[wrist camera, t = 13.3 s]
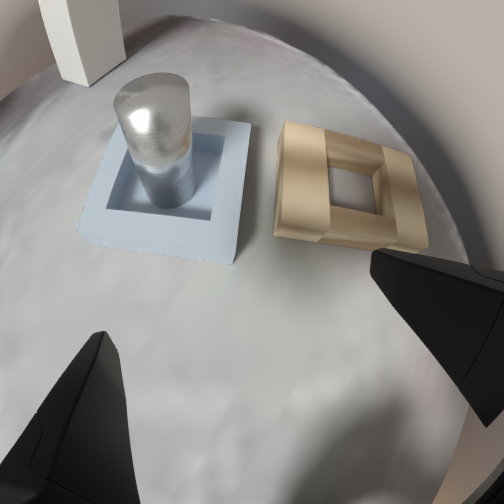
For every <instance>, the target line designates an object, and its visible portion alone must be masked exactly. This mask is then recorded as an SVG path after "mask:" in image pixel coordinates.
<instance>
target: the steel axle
mask: <svg viewBox="0 0 504 504" xmlns="http://www.w3.org/2000/svg"><path fill="white" fill-rule="evenodd" d="M114 109H115V112H116V115H117V118H118V121H119V124H120V127H121V129H122V132H123V135H124V138H125V141H126V143H127V146H128V149H129V152H130V154H131V157H132V160H133V162H134V165H135V168H136V170H137V173H138V175H139V178H140V180H141V183H142V185H143V188H144V190H145V193H146V195H147V197H148V199H149V201H150V202H151V203H152V204H154V205H155V206H157V207H160V208H164V209H172V208H177V207H179V206H182V205H184V204H185V203H187V202H188V201H189V200H190V199H191V198H192V196H193V195H194V193H195V191H196V187H197V181H196V171H195V160H194V149H193V138H192V125H191V111H190V95H189V85H188V83H187V81H186V80H185V79H184V78H182V77H181V76H179V75H176V74H172V73H153V74H148V75H144V76H141V77H139V78H137V79H134V80H133V81H131V82H129V83H128V84H126V85H125V86H124V87H123V88H122V89H121V90H120V91H119V92H118V93H117V95H116V97H115V99H114Z"/></svg>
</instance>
